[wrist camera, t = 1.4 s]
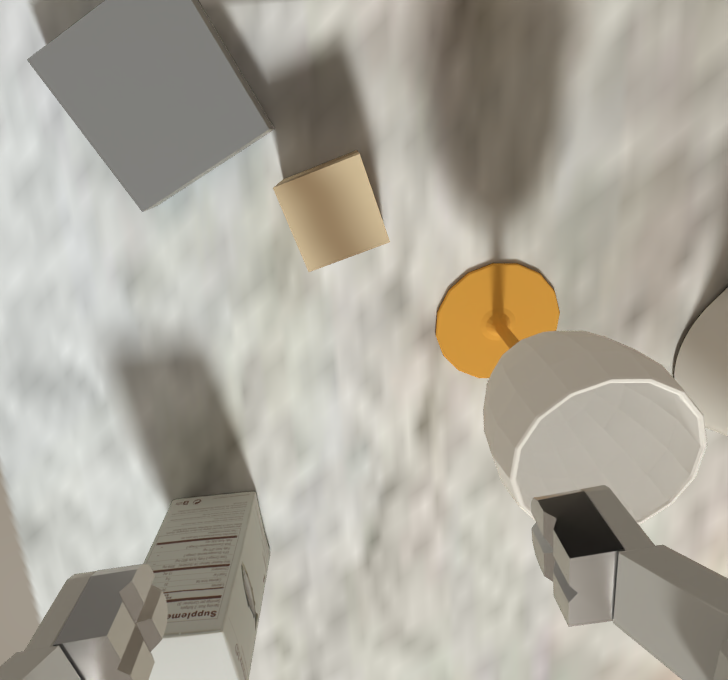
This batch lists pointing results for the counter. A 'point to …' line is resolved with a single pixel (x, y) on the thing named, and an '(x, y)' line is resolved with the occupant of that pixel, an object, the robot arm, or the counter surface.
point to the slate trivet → (152, 93)
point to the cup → (568, 397)
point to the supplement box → (209, 586)
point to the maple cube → (332, 211)
